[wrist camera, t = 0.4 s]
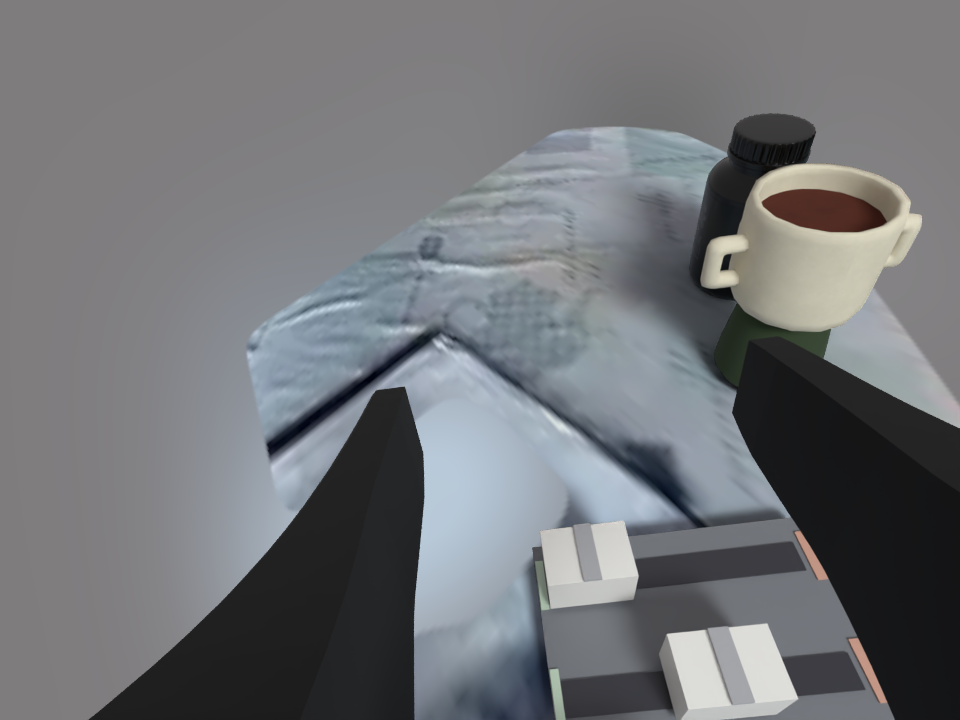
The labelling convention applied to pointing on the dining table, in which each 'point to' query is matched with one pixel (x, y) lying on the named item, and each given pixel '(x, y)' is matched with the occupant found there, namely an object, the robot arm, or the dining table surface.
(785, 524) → the panel
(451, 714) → the dining table surface
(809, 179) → the character mug
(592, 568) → the block
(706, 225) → the supplement bottle
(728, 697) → the block
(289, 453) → the dining table surface
